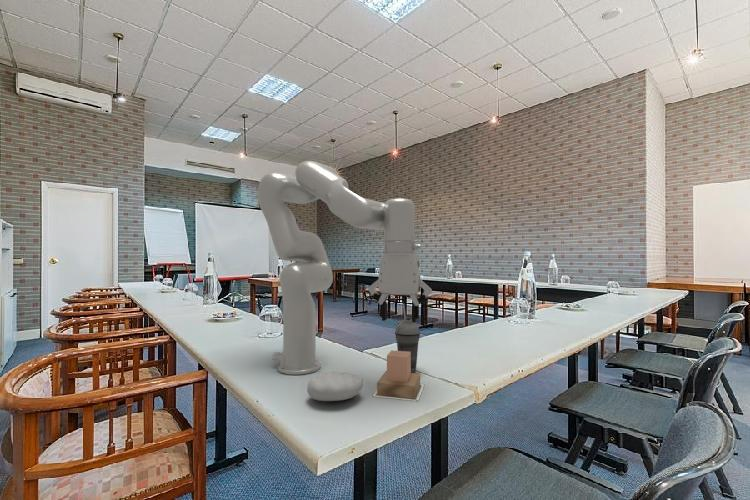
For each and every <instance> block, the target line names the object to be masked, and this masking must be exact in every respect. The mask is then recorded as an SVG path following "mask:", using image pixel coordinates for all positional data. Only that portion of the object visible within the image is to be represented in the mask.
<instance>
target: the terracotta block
mask: <svg viewBox="0 0 750 500" xmlns="http://www.w3.org/2000/svg"><path fill="white" fill-rule="evenodd" d="M386 371H387V380H388V381H398V382H408V380H409V378H410V376H411V352H407V351H398V350H395V349H393V350H390V352H389V353H388V354H386Z"/></svg>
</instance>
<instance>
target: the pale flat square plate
mask: <svg viewBox="0 0 750 500" xmlns="http://www.w3.org/2000/svg"><path fill="white" fill-rule="evenodd" d="M424 388H425V384H422V383H420V387H419V390H418V392H417V395H416V397H415V399H408V398H398V397H389V396H380V395H377V389H376V390H375V392H374V393H373V394H372V395H371V397H373V398H382V399H392V400H399V401H410V402H418V403H419V401H420V398H421V396H422V393H423V390H424Z"/></svg>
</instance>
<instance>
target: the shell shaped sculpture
mask: <svg viewBox="0 0 750 500" xmlns="http://www.w3.org/2000/svg"><path fill="white" fill-rule="evenodd" d="M363 385H364V381H363V379H362V378H361V377H360V376H359V375H355V374H353V375H351V374H350V373H348V372H342V373H340V372H336V371H333V372H332V373H325V372H324V373H321V375H319V376H318V377H313V378H311V379H309V382H308V384H307V389H306V390H307V391H306V392H307V393H308V396H309V398H311V399H312V400H316V401H319V402H340V401H345V400H349V399H352V398H355V396H357V395H359V393H360V391H362V389H363V387H364V386H363Z"/></svg>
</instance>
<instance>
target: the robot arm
mask: <svg viewBox="0 0 750 500" xmlns="http://www.w3.org/2000/svg"><path fill="white" fill-rule="evenodd" d="M257 200H258V204H259V208H260V210H261V213H262V214H263V217H264V219H265V220H266V222H267V227H268V230H269V233H270V236H271V240H272V242H273V246H274V249H275V252H276V254H277V256H278V258H279V259H281V260H282V261H287V262H292V263H289V264H287V265H286V266H284V267H283V268H282V270H281V272H280V274H279V284H280V288H281V295H282V312H283V313H282V318H283V319H282V321H283V324H282V327H283V328H282V329H283V331H282V332H283V334H282V343H283V344H282V346H283V348H282V351H283V352H279V351H274V352H273V353H272V357H271V360H272V361H278V362H279V364H278V365H277V371H278V372H279V373H281V374H285V375H294V376H295V375H297V376H298V375H306V374H307V375H308V374H311V373H315V372H316V371H318V370H320V368H322V367H321V365H322V364H321V361H319V360H317V357H316V352H317V351H316V350H317V349H316V346H317V344H316V343H317V339H316V335H317V334H316V331H317V330H316V328H317V325H316V324H317V322H316V319H317V316H316V315H317V314H316V313H317V311H316V303H315V301H314V299H313V296H312V293H313V294H314V293H319V292H324V291H327V290H328V289H329V288H330V287H331V286H332V284H333V279H334V274H333V270H332V266H331V263H330V261H329V257H328V255H327V252H326V248H325V246H324V243H323V241H322V239H321V238H320V237H319V236H318V235H317V234H316V233H314V232H312V231H311V232H310V231H303V230H301V229H300V228H299V226H298V223H297V222H296V217H295V215H294V213H293V212H292V211H291V209H290V208H289V207H288V206H287V204H286V203H290V204H291V203H292V204H298V205H305V204H309V203H312V202H315V201H317V200H321V202H324V203H325V204H326V205H327V207H328V209H329V210H330V212H331V213H332V214H333V215H334V216H336V217H338V218H339V219H340V220H342V221H343V222H344V223H346V224H348V225H350V226H351V227H354V228H356V229H363V230H369V231H383V233H384V236H383V238H384V240H383V241H384V242H383V243H384V247H383V248H384V251H383V254H381V257H380V261H379V262H380V263H379V270H378V279H377V280H376V281H374V282H373V283H371V285H369V287H368V288H367V290H368V292H369V294H371V295H372V297H373V298H374V299H375V301H376V302H377V303H378V305H379V317H381V321H383V322H385V321H386V320H388V317H389V316H388V313H389V311H388V309H389V307H388V306H389V305H388V303H387V300H388V297H389V295H393V296H394V295H395V296H409V297H410V298H411V301H412V305H411V320H412V322H416V323H417V321H418V319H420V305H421V303H422V302H424V301H425V299H427V298H428V296H429V295H431V292H433V291H432V288H431V287H430V286H429V285H428V284H426V283H425V282H424V281H423V280H422V278H421V267H420V265H421V264H420V259H419V254H415V253H416V251H418V250H419V251H420V250H421V244H420V243H416V242H415V203H414V202H413V200H412V199H410V198H399V197H398V198H390V199H387V200H386V201H385V202H382V201H381V202H380V201H378V200H373V199H370V198H364V197H362V196H360V195H359V194H357V193H355V192H353V191H351V190H350V189H349V182H348V181H347V180H346V178H344V177H342V176H340V174H339V172H338V171H337V170H336V169H335V168H334V167H331V166H329V165H327V164H323V163H321V162H318V161H315V160H314V161H313V160H304V161H302V162H300V163H299V164H298V165H297V166H296V168H295V172H294V175H291V174H288V173H284V172H278V171H274V172H268V173H266V174H264V176H262V178H261V179H260V181H259V184H258V188H257ZM377 288H378V291H377ZM421 289H423V292H422V294H421V295H420V296H419V295H418V293H420V292H421Z"/></svg>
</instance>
